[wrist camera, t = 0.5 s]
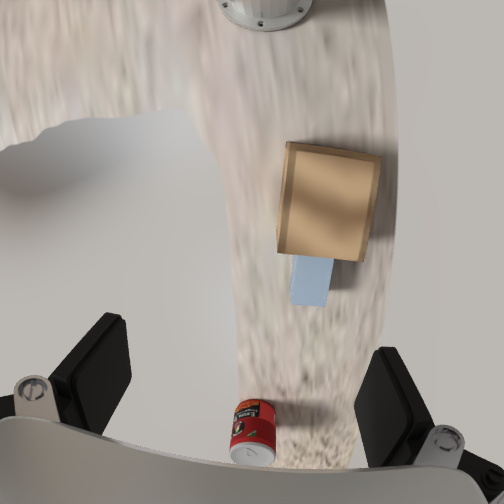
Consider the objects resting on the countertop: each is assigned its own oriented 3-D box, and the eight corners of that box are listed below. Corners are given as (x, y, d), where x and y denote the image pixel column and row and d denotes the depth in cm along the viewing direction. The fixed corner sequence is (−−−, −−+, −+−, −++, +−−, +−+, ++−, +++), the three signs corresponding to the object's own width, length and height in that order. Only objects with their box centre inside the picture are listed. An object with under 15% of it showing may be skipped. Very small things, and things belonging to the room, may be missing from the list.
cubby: (286, 141, 39) (289, 142, 31) (362, 152, 38) (382, 156, 31) (276, 231, 43) (277, 252, 35) (348, 240, 43) (363, 261, 35)
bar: (299, 204, 42) (303, 213, 37) (333, 208, 41) (340, 217, 37) (289, 287, 46) (291, 304, 41) (320, 289, 46) (325, 306, 41)
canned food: (255, 392, 53) (252, 439, 43) (284, 413, 55) (285, 459, 44) (226, 409, 55) (218, 454, 45) (255, 428, 57) (252, 472, 47)
